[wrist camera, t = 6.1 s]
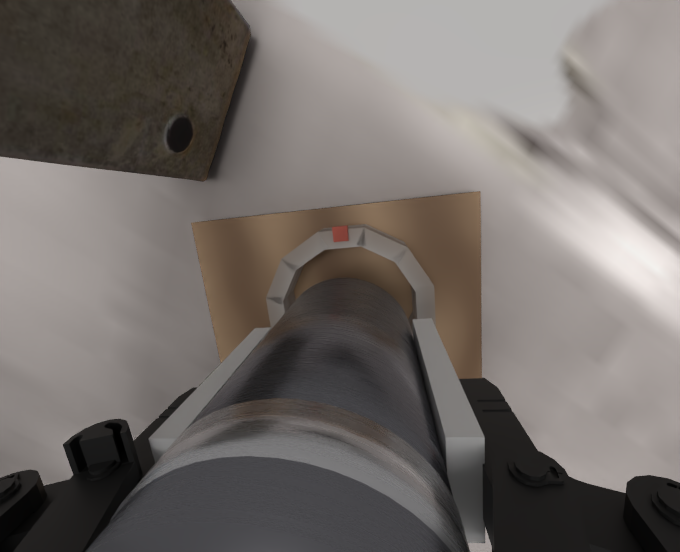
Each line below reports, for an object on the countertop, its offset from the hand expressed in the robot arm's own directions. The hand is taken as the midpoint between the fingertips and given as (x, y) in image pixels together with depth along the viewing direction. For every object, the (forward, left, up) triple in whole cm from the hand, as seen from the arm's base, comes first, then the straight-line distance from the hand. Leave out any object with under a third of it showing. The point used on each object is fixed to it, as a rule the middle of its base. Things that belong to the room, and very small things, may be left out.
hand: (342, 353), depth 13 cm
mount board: (-1, -6, -9) cm, 11 cm away
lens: (0, 0, -1) cm, 1 cm away
